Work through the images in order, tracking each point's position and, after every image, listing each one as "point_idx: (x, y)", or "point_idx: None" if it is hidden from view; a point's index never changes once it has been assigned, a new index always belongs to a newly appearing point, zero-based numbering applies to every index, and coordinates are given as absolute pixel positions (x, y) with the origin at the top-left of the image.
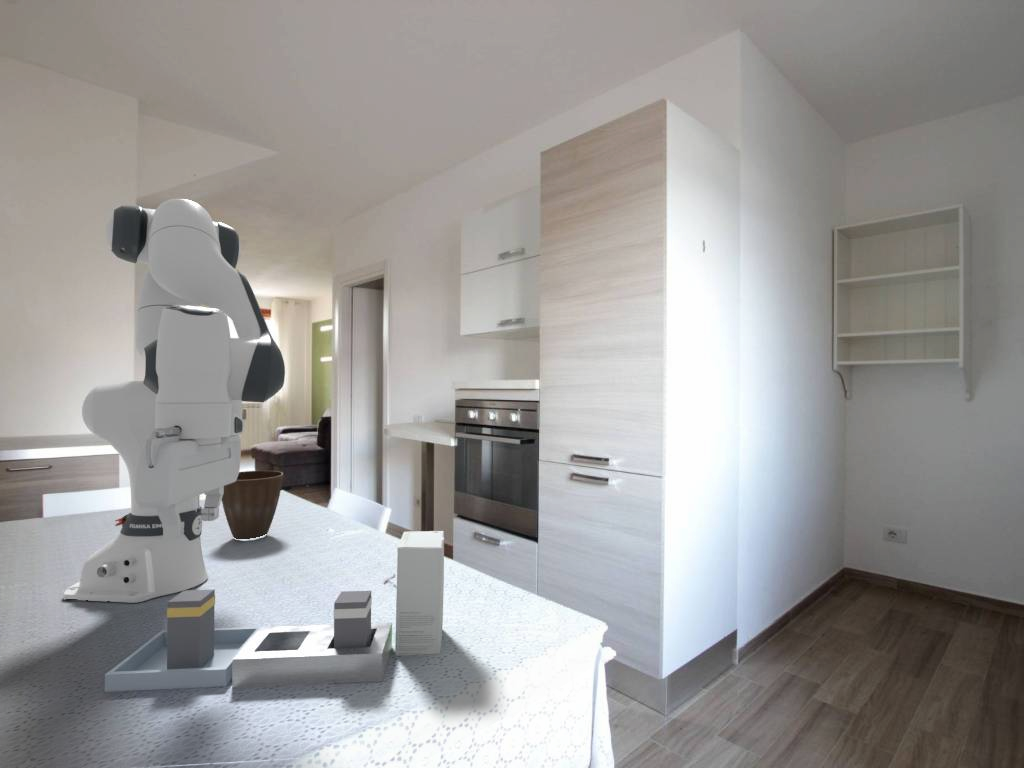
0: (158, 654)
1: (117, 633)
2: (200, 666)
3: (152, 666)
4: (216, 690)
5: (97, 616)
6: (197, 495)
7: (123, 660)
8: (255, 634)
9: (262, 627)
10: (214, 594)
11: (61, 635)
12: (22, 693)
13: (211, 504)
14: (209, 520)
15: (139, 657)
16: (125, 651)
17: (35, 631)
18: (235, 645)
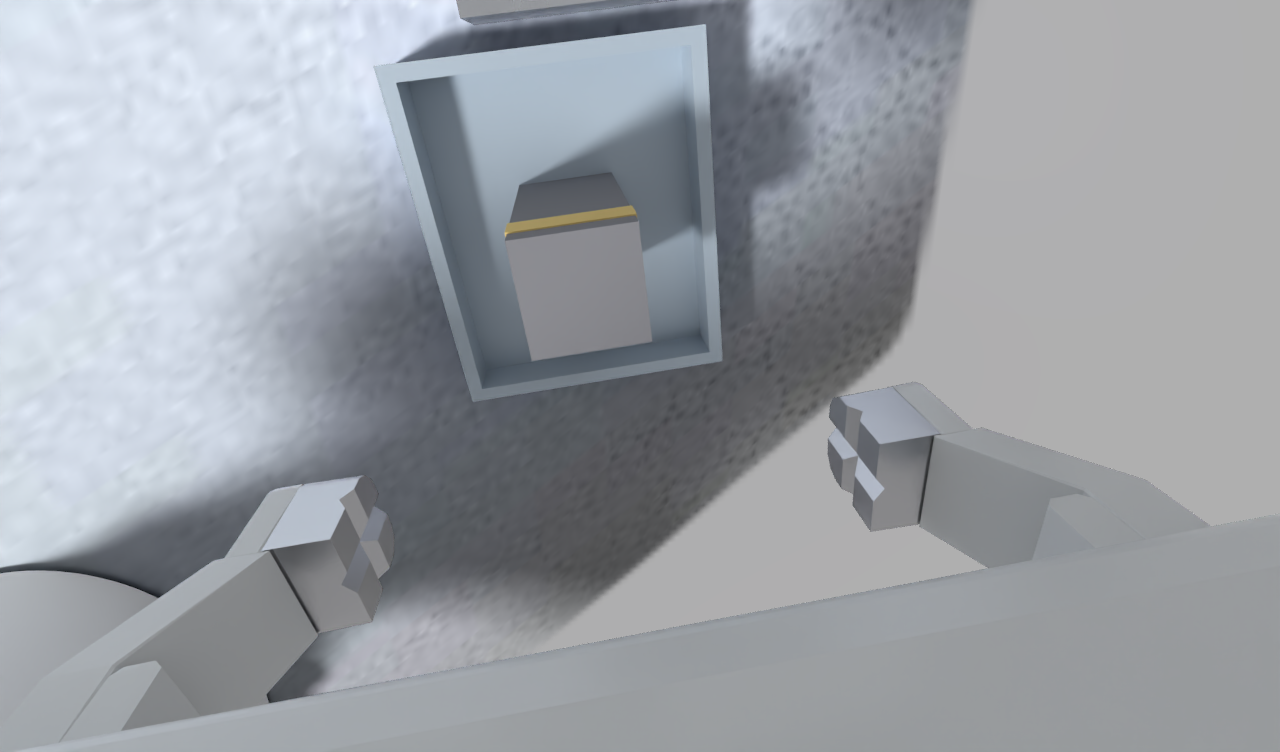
0: None
1: (419, 534)
2: (605, 174)
3: None
4: None
5: (344, 638)
6: (850, 595)
7: (653, 371)
8: (528, 4)
9: (460, 9)
10: (507, 235)
11: (455, 625)
12: (692, 497)
13: (272, 613)
14: (376, 495)
15: (599, 362)
16: (505, 449)
17: None
18: (442, 152)
